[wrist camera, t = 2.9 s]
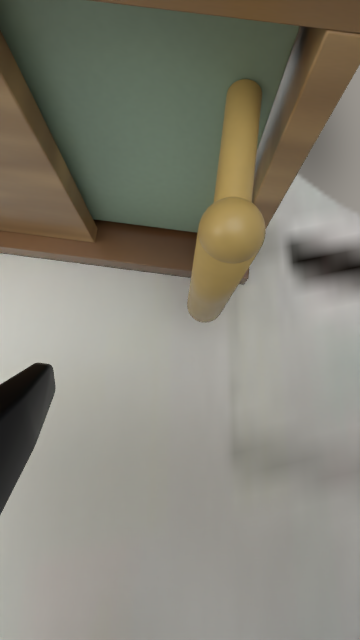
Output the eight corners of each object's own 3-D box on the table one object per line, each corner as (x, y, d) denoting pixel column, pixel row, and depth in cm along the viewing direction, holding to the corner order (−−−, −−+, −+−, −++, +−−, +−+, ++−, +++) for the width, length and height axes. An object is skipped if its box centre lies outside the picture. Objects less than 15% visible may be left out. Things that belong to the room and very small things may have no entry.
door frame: (244, 284, 21) (420, 24, 6) (-45, 247, 21) (-583, -96, 6) (251, 211, 22) (417, -169, 7) (-25, 176, 22) (-443, -266, 7)
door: (216, 331, 19) (287, 240, 7) (61, 311, 19) (-126, 187, 7) (229, 215, 20) (305, -21, 8) (85, 197, 20) (-38, -63, 9)
